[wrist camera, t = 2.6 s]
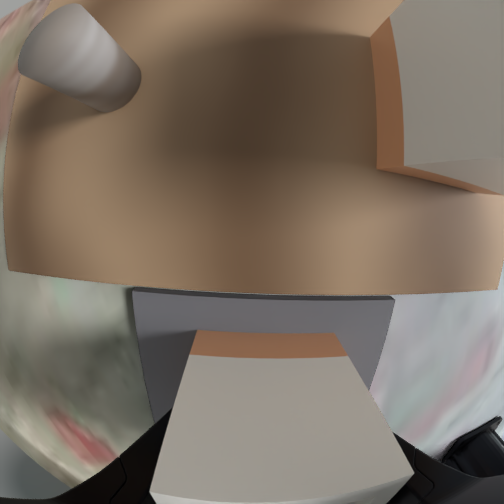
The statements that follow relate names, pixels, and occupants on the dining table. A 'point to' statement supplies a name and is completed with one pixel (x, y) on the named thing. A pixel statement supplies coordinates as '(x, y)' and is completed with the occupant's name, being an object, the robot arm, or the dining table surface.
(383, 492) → the sleeve loose
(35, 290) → the dining table surface
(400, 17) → the sleeve seated
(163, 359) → the mat
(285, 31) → the pin board
